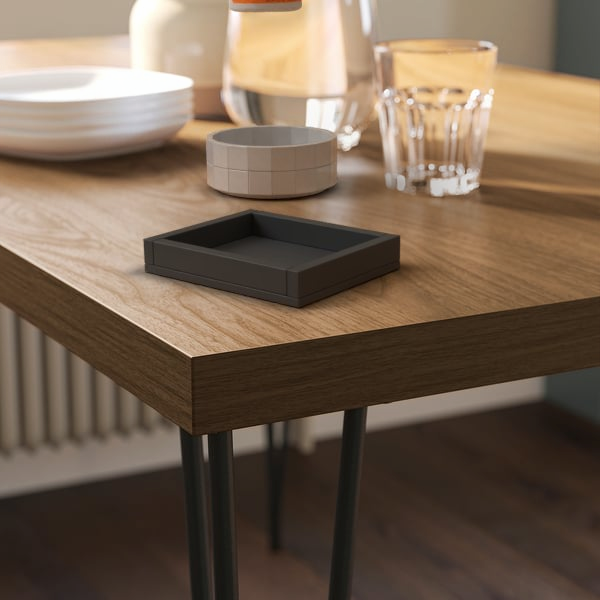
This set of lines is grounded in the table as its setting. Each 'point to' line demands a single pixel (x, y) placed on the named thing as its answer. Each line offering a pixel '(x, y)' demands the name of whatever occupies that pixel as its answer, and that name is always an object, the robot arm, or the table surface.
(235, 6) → the pill bottle
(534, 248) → the table surface
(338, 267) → the tray
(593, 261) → the table surface
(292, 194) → the gray bowl
